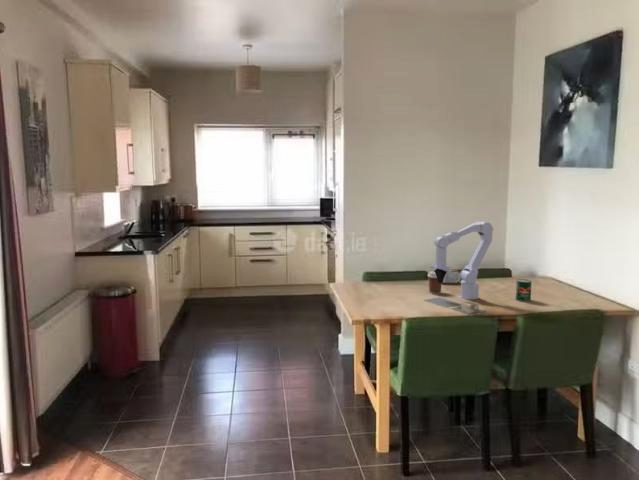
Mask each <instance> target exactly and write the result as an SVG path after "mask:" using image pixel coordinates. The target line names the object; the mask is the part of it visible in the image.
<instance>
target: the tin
mask: <svg viewBox="0 0 639 480" xmlns="http://www.w3.org/2000/svg"><path fill="white" fill-rule="evenodd" d="M460 273H461V271H460V270H459V269H458V270H457V269H451V272H447V273H446V274H445V276H444V279H443V283H442V284H456V283H455V282H458V283H461V281H462V279H461V278H460ZM458 283H457V284H458Z"/></svg>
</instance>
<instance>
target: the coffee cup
mask: <svg viewBox="0 0 639 480" xmlns="http://www.w3.org/2000/svg"><path fill="white" fill-rule="evenodd" d="M427 278H428V289H429V293H430V294H432V293H434V294H433V295H438V294H441V292H442V291H441V290H442V284H443V283H438V280H437V276H436V274H435V272H434V271H432V270H431V271H429V273H428V274H427Z"/></svg>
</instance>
